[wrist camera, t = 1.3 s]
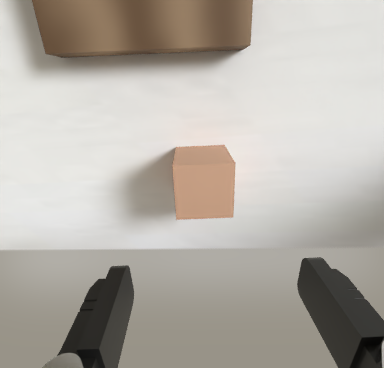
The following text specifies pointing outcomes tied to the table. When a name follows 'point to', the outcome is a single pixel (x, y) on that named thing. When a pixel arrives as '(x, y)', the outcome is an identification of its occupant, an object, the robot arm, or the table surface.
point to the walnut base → (142, 26)
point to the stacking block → (203, 182)
